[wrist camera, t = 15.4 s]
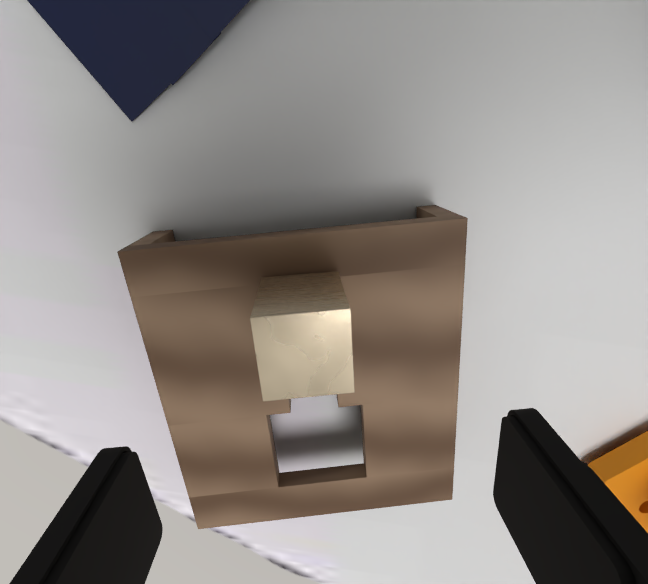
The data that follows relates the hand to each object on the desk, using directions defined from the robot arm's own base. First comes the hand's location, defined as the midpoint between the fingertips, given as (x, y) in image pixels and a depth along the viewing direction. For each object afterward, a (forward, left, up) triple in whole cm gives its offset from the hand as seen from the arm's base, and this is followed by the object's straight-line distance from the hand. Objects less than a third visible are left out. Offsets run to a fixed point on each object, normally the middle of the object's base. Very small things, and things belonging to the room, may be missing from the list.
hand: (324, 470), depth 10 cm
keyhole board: (+6, 0, -17) cm, 18 cm away
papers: (-28, -3, -17) cm, 33 cm away
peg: (0, 0, -17) cm, 17 cm away
